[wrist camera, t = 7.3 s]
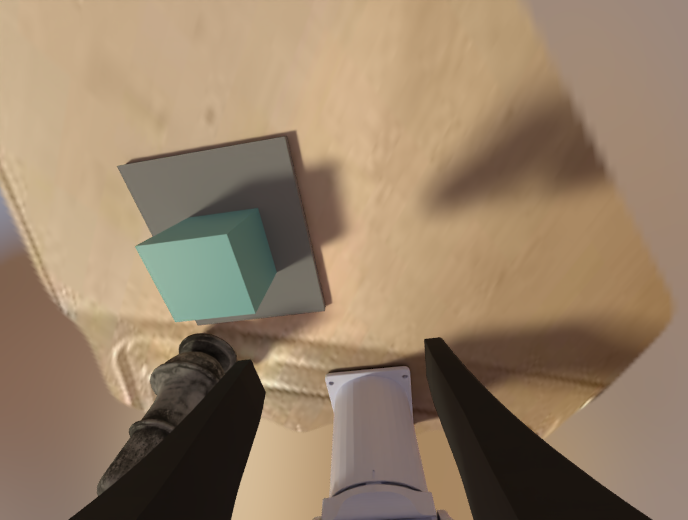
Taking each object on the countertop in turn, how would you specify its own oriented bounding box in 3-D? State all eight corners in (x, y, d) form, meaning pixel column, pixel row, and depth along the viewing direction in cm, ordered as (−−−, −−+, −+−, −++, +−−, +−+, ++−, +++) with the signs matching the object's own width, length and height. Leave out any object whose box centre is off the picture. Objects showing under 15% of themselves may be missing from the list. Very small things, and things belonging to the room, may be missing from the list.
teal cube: (276, 272, 20) (255, 313, 15) (214, 279, 20) (175, 322, 16) (257, 207, 18) (226, 234, 13) (188, 217, 18) (134, 246, 14)
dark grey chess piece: (210, 321, 23) (87, 490, 12) (252, 364, 25) (179, 539, 14) (162, 345, 24) (13, 516, 14) (206, 384, 27) (107, 557, 16)
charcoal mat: (325, 306, 22) (324, 310, 21) (201, 320, 23) (197, 325, 22) (286, 136, 16) (284, 136, 16) (124, 164, 17) (116, 166, 17)
